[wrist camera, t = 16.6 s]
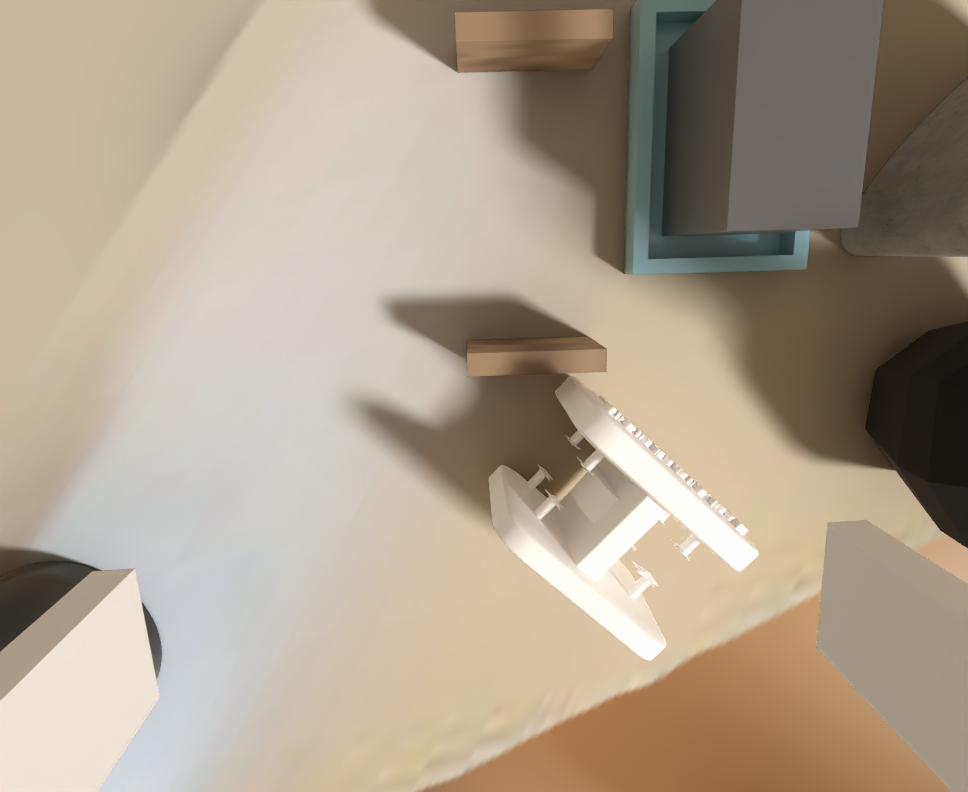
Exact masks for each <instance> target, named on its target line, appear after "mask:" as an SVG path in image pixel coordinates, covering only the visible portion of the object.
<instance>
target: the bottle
mask: <svg viewBox="0 0 968 792" xmlns="http://www.w3.org/2000/svg"><path fill="white" fill-rule="evenodd" d="M865 429H866V430H867V432H868V433H869V434H870V436H871V437H872V438H873V440H874V441H875V443H876V444H877V445H878V447H879V448H880V449H881V451H882V452H883V454H884V455H885V456H886V458H887V459H888V460H889V462H890V463H891V465H892V466H893V467H894V469H895V470H896V471H897V473H898V474H899V475H900V477H901V478H902V479H903V481H904V482H905V484H906V485H907V486H908V488H909V489H910V490H911V492H912V493H913V494H914V496H915V497H916V498H917V500H918V501H919V502H920V504H921V505H922V506H923V508H924V509H925V510H926V512H927V513H928V514H929V516H930V517H931V518H932V520H933V521H934V522H935V524H936V525H937V526H938V528H939V529H940V530H941V531H942V532H944V533H945V534H947V535H948V536H950V537H951V538H953V539H955V540H956V541H957V542H959V543H961V544H962V545H963V546H965V547H967V548H968V322H965V323H960V324H956V325H952V326H948V327H943V328H939V329H935V330H930V331H928V332H927V333H925V334H924V335H923V336H921V337H920V338H919V339H917V340H916V341H915V342H913V343H912V344H911V345H909V346H908V347H907V348H905V349H904V350H903V351H901V352H900V353H899V354H897V355H896V356H895V357H893V358H892V359H891V360H889V361H888V362H887V363H885V364H884V365H883V366H881V367H880V368H879V369H877V370H876V374H875V379H874V384H873V390H872V395H871V401H870V406H869V411H868V417H867V422H866V428H865Z"/></svg>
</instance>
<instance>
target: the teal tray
mask: <svg viewBox="0 0 968 792" xmlns="http://www.w3.org/2000/svg"><path fill="white" fill-rule="evenodd" d="M715 1H716V0H637V1H636V2H635V4H634V5H633V7H632V8H631V10H630V44H629V83H628V123H627V163H626V202H625V242H624V274H631V275H640V274H673V273H707V272H740V271H773V270H807V260H808V250H809V239H810V231H795V232H780V233H765V234H735V235H699V236H663V237H662V215H663V190H664V165H665V140H666V115H667V90H668V65H669V48H670V47H671V46H672V45H673V44H674V43H675V42H676V41H677V40H678V39H679V38H680V37H681V36H682V35H683V34H684V33H685V32H686V31H687V30H688V29H689V28H690V26H691V25H692V24H693V23H694V22H695V21H696V20H697V19H698V18H699V17H700V16H701V15H702V14H703V13H704V12H705V11H706V10H707V9H708V8H709V7H710V6H711V5H712V4H713V3H714V2H715Z"/></svg>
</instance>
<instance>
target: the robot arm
mask: <svg viewBox="0 0 968 792" xmlns="http://www.w3.org/2000/svg"><path fill="white" fill-rule="evenodd" d="M816 647H817V649H818V650H819V651H820V652H821V653H822V654H823V655H824V656H825V657H826V659H827V660H828V661H829V662H830V663H831V664H832V665H833V666H834V667H835V668H836V669H837V670H838V671H839V672H840V673H841V674H842V676H844V678H845V679H846V680H847V681H848V682H849V683H850V684H851V685H852V686H853V687H854V688H855V689H856V690H857V691H858V693H859V694H860V695H861V696H862V697H863V698H864V699H865V700H866V701H867V702H868V703H869V704H870V705H871V706H872V707H873V709H874V710H875V711H876V712H877V713H878V714H879V715H880V716H881V717H882V718H883V719H884V720H885V721H886V722H887V723H888V724H889V726H890V727H891V728H892V729H893V730H894V731H895V732H896V733H897V734H898V735H899V736H900V737H901V738H902V739H903V740H904V741H905V743H907V745H908V746H909V747H910V748H911V749H912V750H913V751H914V752H915V753H916V754H917V755H918V756H919V757H920V758H921V760H922V761H923V762H924V763H925V764H926V765H927V766H928V767H929V768H930V769H931V770H932V771H933V772H934V773H935V774H936V775H937V777H939V779H940V780H941V781H942V782H943V783H944V784H945V785H946V786H947V787H948V788H949V789H950V790H951V791H952V792H968V584H967V583H965V582H963V581H962V580H961V579H959V578H957V577H956V576H954V575H953V574H951V573H949V572H948V571H946V570H945V569H943V568H941V567H940V566H938V565H937V564H935V563H933V562H932V561H930V560H929V559H927V558H926V557H924V556H922V555H921V554H919V553H918V552H916V551H914V550H913V549H911V548H910V547H908V546H906V545H905V544H903V543H902V542H900V541H898V540H897V539H895V538H894V537H892V536H891V535H889V534H887V533H886V532H884V531H883V530H881V529H879V528H878V527H876V526H875V525H873V524H871V523H870V522H868V521H867V520H860V521H845V522H830V523H828V525H827V536H826V547H825V558H824V569H823V580H822V591H821V602H820V613H819V623H818V634H817V646H816ZM161 658H162V650H161V641H160V637H159V633H158V630H157V627H156V625H155V623H154V621H153V618H152V617H151V615H150V613H149V612H148V610H147V609H146V607H145V606H144V605H143V603H142V602H141V597H140V592H139V587H138V582H137V577H136V571H135V569H121V570H106V571H97V570H95V569H92V568H89V567H86V566H82V565H79V564H73V563H67V562H40V563H34V564H29V565H25V566H22V567H19V568H17V569H14V570H12V571H10V572H8V573H6V574H5V575H3V576H1V577H0V792H97V791H98V790H99V788H100V787H101V785H102V784H103V782H104V781H105V779H106V778H107V776H108V775H109V773H110V772H111V770H112V769H113V767H114V766H115V764H116V763H117V761H118V760H119V758H120V757H121V755H122V753H123V752H124V750H125V749H126V747H127V746H128V744H129V743H130V741H131V740H132V738H133V737H134V735H135V734H136V732H137V731H138V729H139V728H140V726H141V725H142V723H143V722H144V720H145V719H146V717H147V716H148V714H149V713H150V711H151V710H152V708H153V707H154V705H155V704H156V702H157V701H158V699H159V698H160V696H159V691H158V686H157V680H156V679H157V677H158V674H159V671H160V666H161Z"/></svg>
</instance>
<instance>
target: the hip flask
mask: <svg viewBox="0 0 968 792" xmlns="http://www.w3.org/2000/svg"><path fill="white" fill-rule="evenodd" d="M841 242H842V245H843V247H844V249H845V250H846V251H847V252H849V253H850V254H852V255H856V256H951V257H968V78H967V79H966V80H965V81H964V82H962V83H961V84H960V85H959V86H958V87H957V88H956V89H955V90H953V91H952V92H951V93H950V94H949V95H948V96H947V97H946V98H945V99H944V100H943V101H942V102H941V103H940V104H939V105H938V106H937V107H936V108H935V109H934V110H933V111H932V112H931V113H930V114H929V115H928V116H927V117H926V118H925V119H924V120H923V121H922V122H921V123H920V124H919V125H918V126H917V127H916V129H915V130H914V131H913V132H912V133H911V134H910V135H909V136H908V137H907V139H906V140H905V141H904V142H903V143H902V144H901V146H900V147H899V148H898V149H897V150H896V151H895V152H894V154H893V155H892V156H891V157H890V159H889V160H888V161H887V162H886V164H885V165H884V166H883V167H882V169H881V170H880V171H879V173H878V174H877V175H876V177H875V178H874V179H873V181H872V182H871V183H870V185H869V186H868V187H867V189H866V190H865V192H864V193H863V195H862V199H861V208H860V216H859V225H858V227H856V228H842V230H841Z"/></svg>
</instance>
